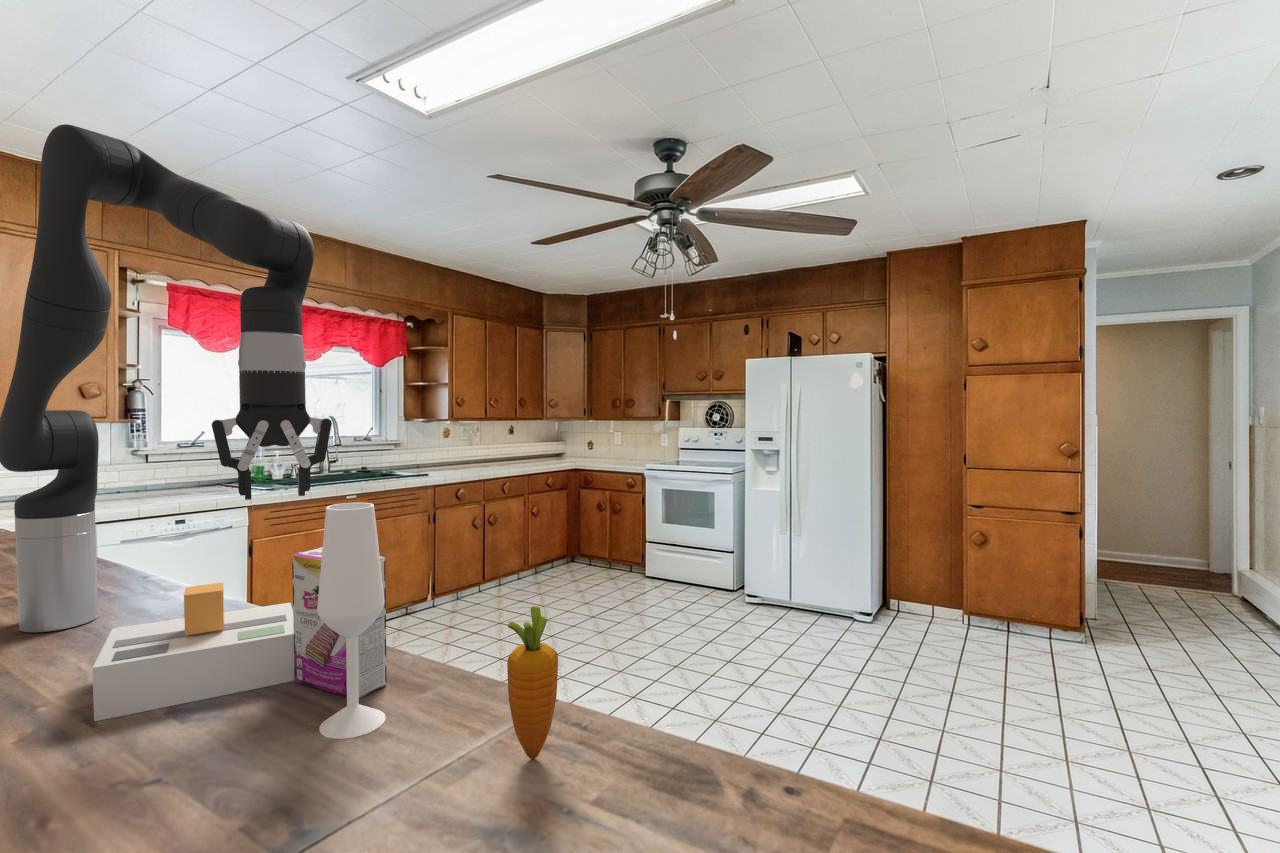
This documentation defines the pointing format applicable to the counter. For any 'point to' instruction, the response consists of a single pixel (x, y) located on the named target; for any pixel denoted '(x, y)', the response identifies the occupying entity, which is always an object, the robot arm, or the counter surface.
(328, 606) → the champagne flute
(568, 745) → the counter surface
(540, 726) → the carrot
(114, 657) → the switch box
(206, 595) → the block
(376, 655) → the candy bar box
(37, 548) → the robot arm
